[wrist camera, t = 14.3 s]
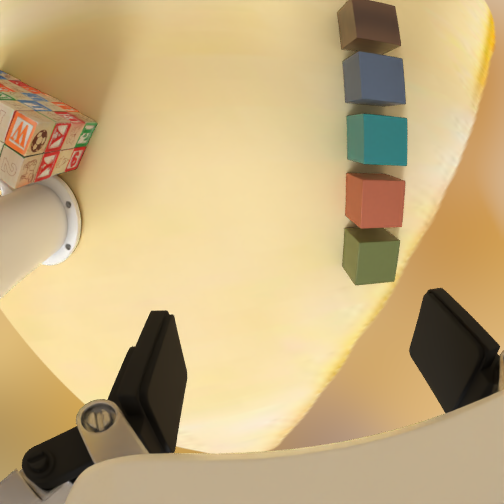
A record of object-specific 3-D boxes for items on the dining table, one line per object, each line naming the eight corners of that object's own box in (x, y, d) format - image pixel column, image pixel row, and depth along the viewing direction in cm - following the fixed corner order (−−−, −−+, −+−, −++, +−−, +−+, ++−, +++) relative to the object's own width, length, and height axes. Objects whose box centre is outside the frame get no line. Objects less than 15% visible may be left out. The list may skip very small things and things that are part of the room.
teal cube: (347, 159, 31) (363, 164, 27) (346, 115, 30) (363, 113, 25) (386, 160, 32) (407, 166, 27) (386, 118, 30) (407, 118, 25)
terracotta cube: (346, 172, 32) (362, 179, 27) (385, 173, 32) (405, 180, 27) (345, 215, 34) (360, 228, 29) (382, 214, 34) (402, 227, 29)
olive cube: (344, 227, 34) (359, 242, 30) (381, 226, 35) (400, 240, 30) (341, 266, 36) (355, 285, 32) (378, 263, 36) (394, 281, 32)
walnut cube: (337, 12, 25) (351, -4, 20) (376, 19, 25) (395, 6, 20) (341, 49, 27) (356, 37, 22) (381, 55, 27) (401, 45, 22)
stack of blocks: (-17, 109, 26) (-76, 115, 14) (-1, 69, 24) (-60, 64, 12) (77, 169, 31) (13, 191, 19) (99, 122, 29) (36, 123, 17)
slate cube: (342, 61, 27) (358, 50, 23) (382, 66, 27) (402, 58, 23) (344, 102, 29) (361, 98, 24) (384, 106, 29) (406, 104, 24)
